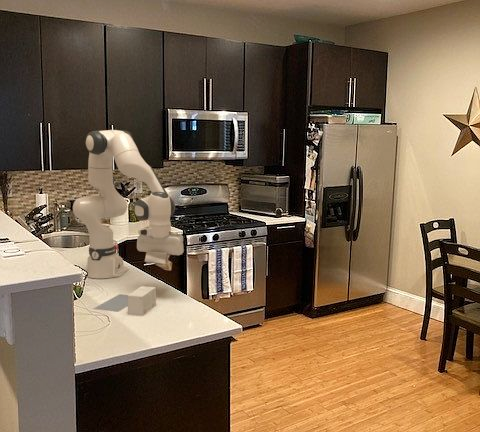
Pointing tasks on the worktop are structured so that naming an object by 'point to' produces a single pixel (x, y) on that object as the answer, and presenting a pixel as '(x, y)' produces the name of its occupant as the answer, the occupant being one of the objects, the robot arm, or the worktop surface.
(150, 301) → the small box
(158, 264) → the wooden t-shaped stand
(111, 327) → the worktop surface
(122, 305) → the mat
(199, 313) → the worktop surface
